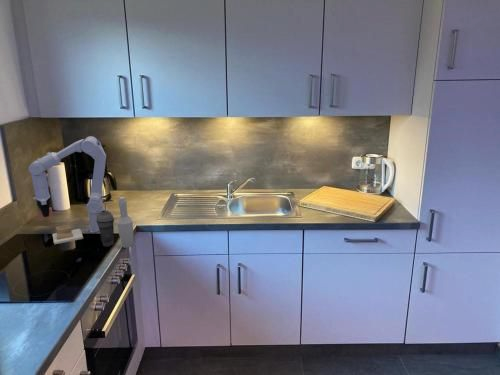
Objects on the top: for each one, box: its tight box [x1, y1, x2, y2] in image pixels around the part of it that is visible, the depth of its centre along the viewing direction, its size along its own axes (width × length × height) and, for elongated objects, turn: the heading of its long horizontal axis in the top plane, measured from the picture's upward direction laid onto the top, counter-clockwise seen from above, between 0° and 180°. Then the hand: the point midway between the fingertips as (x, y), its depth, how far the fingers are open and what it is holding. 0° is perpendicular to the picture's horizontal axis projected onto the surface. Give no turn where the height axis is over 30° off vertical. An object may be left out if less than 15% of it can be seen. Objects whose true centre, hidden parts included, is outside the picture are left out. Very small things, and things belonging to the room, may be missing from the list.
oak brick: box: [55, 224, 72, 239], centre depth 186 cm, size 4×6×4 cm, turn 119°
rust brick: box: [37, 207, 54, 222], centre depth 189 cm, size 4×6×4 cm, turn 118°
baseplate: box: [52, 228, 84, 245], centre depth 188 cm, size 12×11×1 cm
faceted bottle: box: [117, 196, 134, 249], centre depth 174 cm, size 6×6×22 cm
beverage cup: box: [96, 200, 115, 247], centre depth 176 cm, size 7×7×20 cm
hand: (46, 215), depth 190 cm, fingers closed on rust brick, 4 cm apart
